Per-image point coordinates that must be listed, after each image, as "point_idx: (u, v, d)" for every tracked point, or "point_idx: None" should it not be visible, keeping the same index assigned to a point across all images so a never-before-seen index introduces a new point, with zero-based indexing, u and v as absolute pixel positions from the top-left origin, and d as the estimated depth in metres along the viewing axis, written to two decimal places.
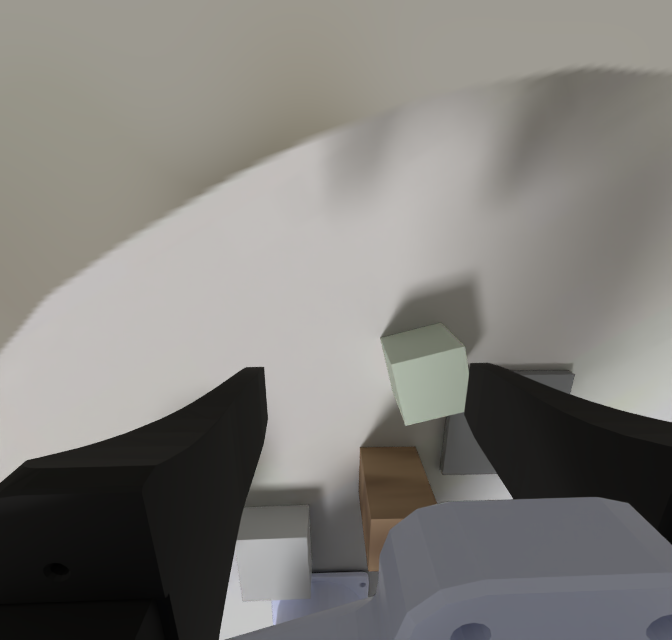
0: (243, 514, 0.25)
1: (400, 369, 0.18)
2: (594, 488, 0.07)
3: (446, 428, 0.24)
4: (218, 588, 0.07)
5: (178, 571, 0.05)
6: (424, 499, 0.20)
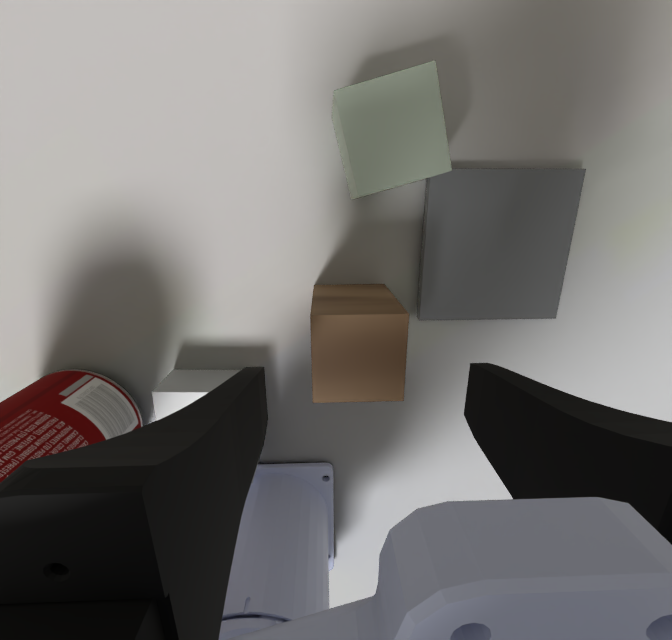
0: (172, 374, 0.20)
1: (347, 99, 0.13)
2: (594, 488, 0.07)
3: (422, 254, 0.19)
4: (218, 588, 0.07)
5: (178, 571, 0.05)
6: (387, 305, 0.15)
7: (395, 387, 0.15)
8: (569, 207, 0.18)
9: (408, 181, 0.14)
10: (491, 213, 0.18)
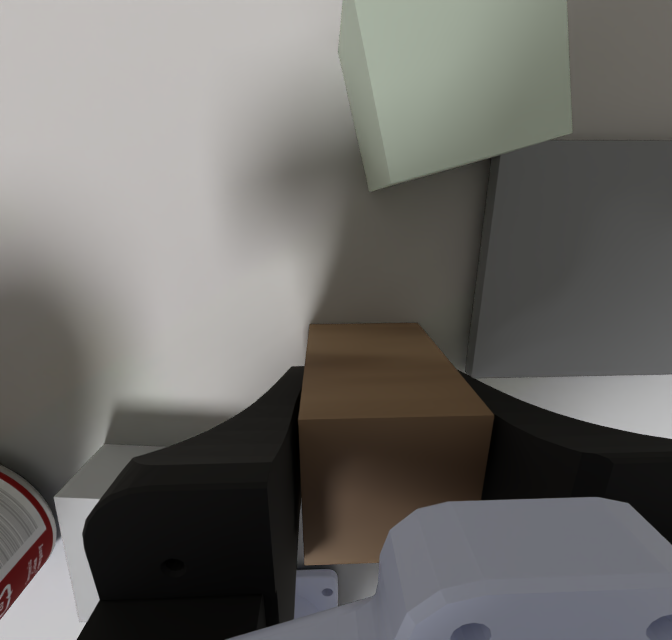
0: (99, 454, 0.13)
1: None
2: (516, 490, 0.07)
3: (479, 279, 0.12)
4: (292, 585, 0.07)
5: (279, 567, 0.05)
6: (442, 385, 0.08)
7: None
8: None
9: (487, 154, 0.07)
10: (596, 214, 0.11)
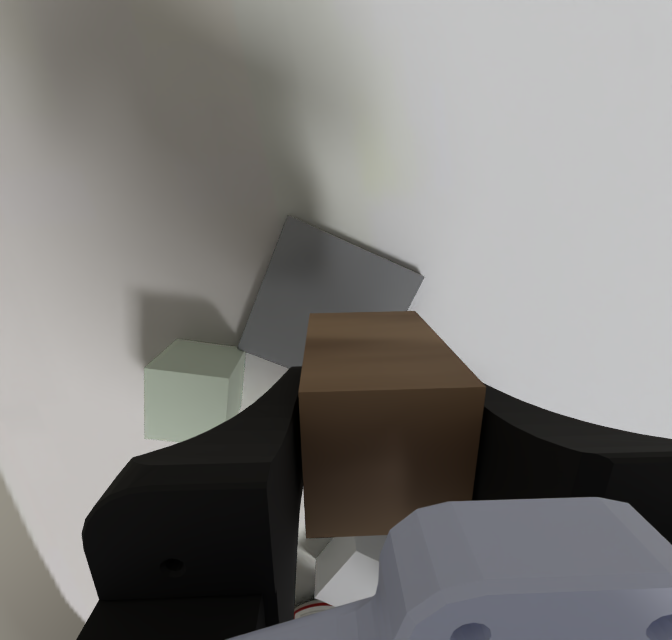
0: (317, 565, 0.25)
1: (152, 432, 0.17)
2: (516, 490, 0.07)
3: None
4: (292, 585, 0.07)
5: (278, 567, 0.05)
6: (437, 363, 0.09)
7: None
8: (318, 238, 0.18)
9: (225, 411, 0.17)
10: (294, 310, 0.19)
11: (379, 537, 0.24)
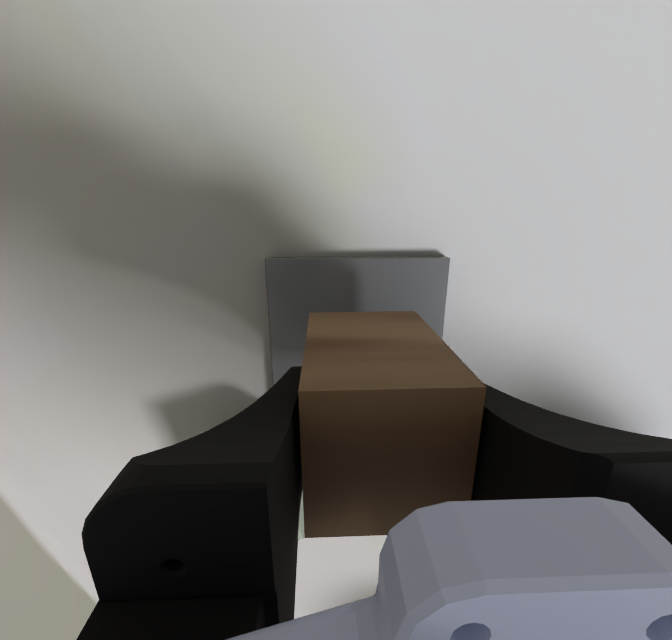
0: None
1: None
2: (516, 490, 0.07)
3: None
4: (292, 585, 0.07)
5: (278, 567, 0.05)
6: (437, 362, 0.09)
7: None
8: (309, 269, 0.15)
9: None
10: None
11: None
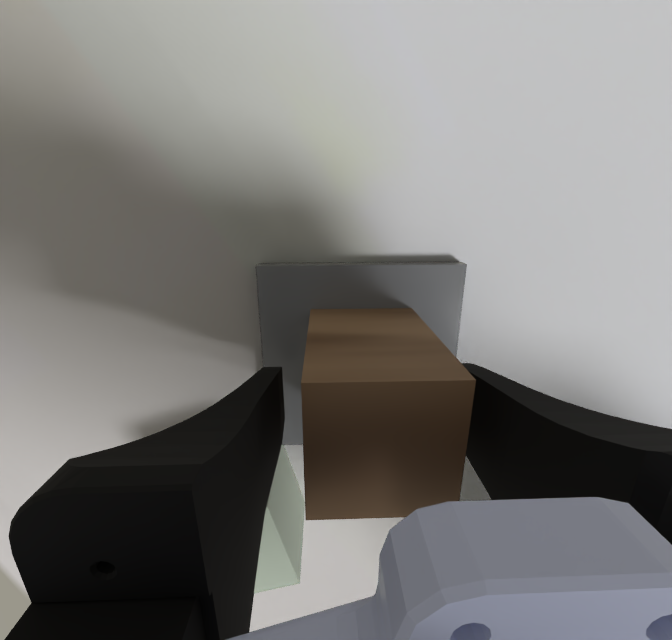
0: None
1: None
2: (563, 489, 0.07)
3: None
4: (248, 587, 0.07)
5: (218, 570, 0.05)
6: (431, 357, 0.09)
7: (445, 495, 0.09)
8: (306, 277, 0.13)
9: (281, 544, 0.13)
10: None
11: None
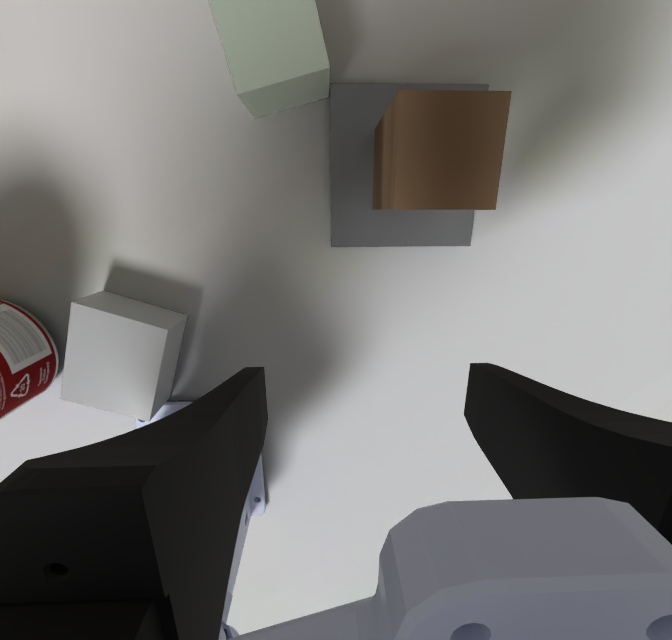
0: (100, 294, 0.20)
1: None
2: (594, 488, 0.07)
3: (331, 177, 0.19)
4: (218, 588, 0.07)
5: (178, 571, 0.05)
6: None
7: (411, 199, 0.13)
8: None
9: (286, 78, 0.14)
10: None
11: (174, 351, 0.21)
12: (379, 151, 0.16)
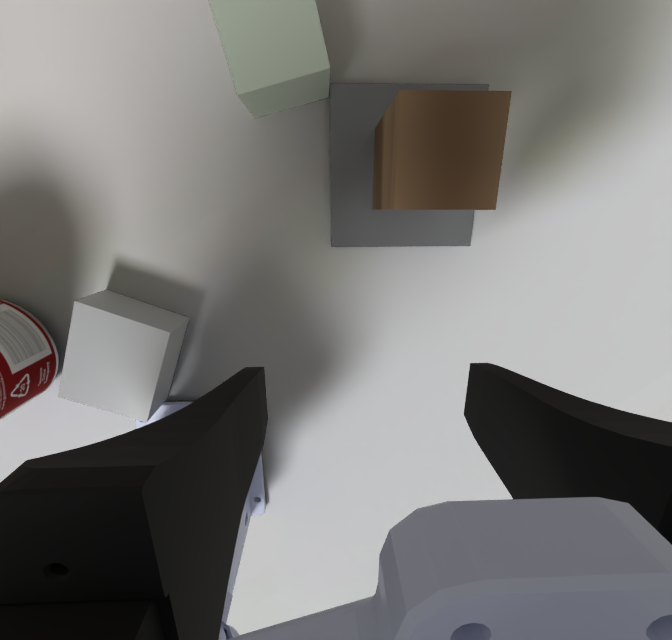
0: (103, 293, 0.20)
1: None
2: (594, 488, 0.07)
3: (331, 177, 0.19)
4: (218, 588, 0.07)
5: (178, 571, 0.05)
6: None
7: (411, 199, 0.13)
8: None
9: (286, 79, 0.14)
10: None
11: (175, 353, 0.21)
12: (379, 151, 0.16)
